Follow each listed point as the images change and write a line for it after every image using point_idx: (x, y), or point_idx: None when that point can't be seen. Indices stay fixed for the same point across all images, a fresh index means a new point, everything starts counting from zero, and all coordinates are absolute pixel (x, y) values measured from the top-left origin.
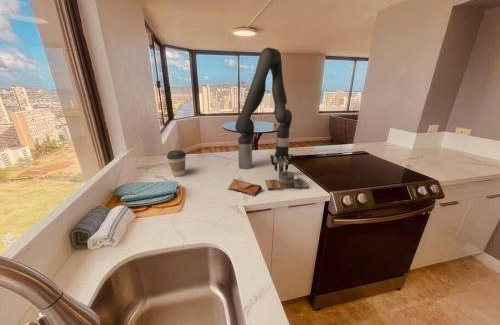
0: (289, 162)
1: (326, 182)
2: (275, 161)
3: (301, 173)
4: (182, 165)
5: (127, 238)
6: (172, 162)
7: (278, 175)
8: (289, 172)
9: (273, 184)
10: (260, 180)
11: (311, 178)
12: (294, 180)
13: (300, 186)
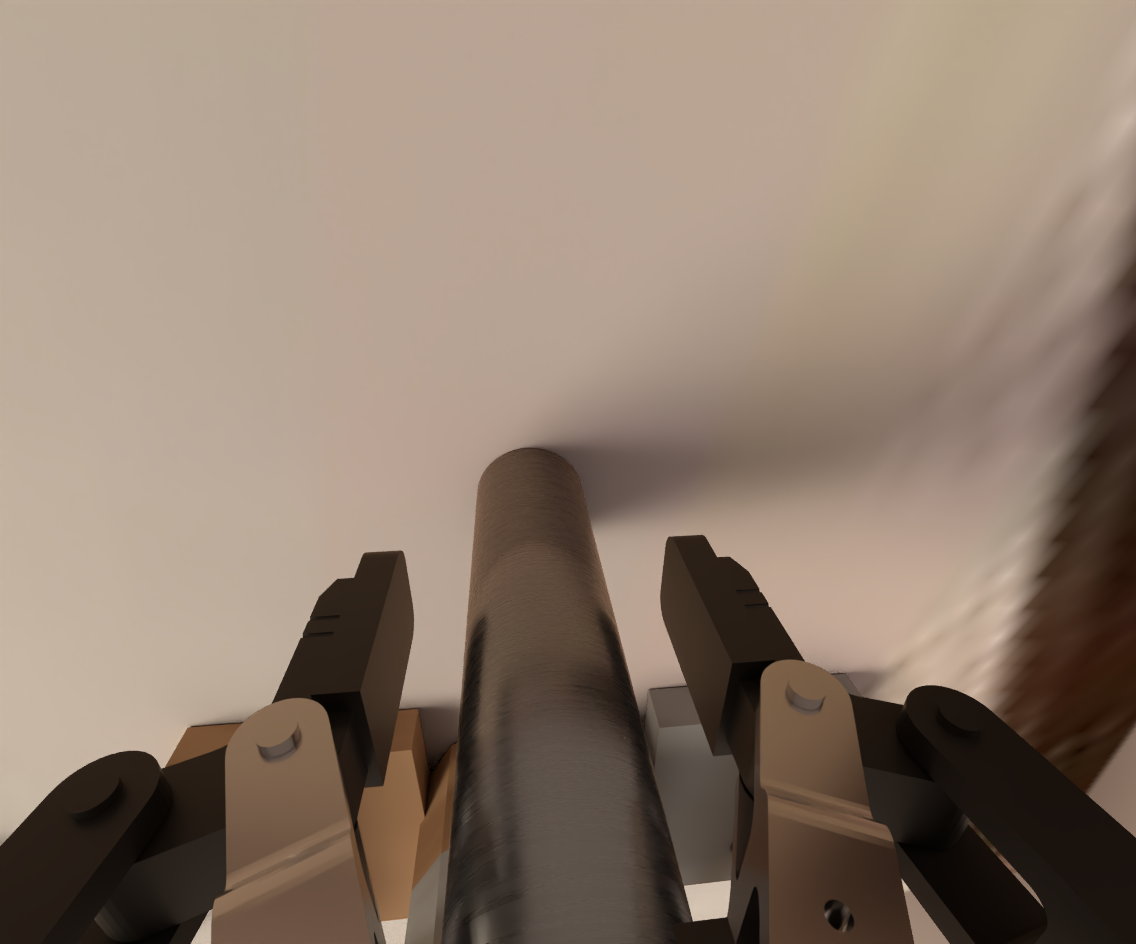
0: (904, 838)
1: (1130, 710)
2: (235, 879)
3: (1034, 404)
4: None
5: None
6: None
7: (477, 492)
8: None
9: None
10: (73, 674)
11: (1041, 609)
12: (704, 769)
13: (709, 881)
